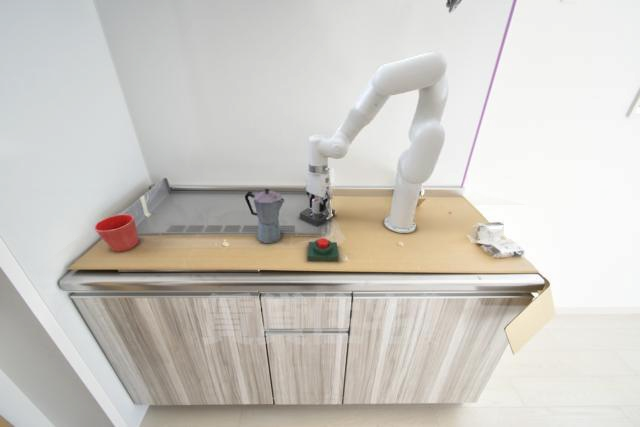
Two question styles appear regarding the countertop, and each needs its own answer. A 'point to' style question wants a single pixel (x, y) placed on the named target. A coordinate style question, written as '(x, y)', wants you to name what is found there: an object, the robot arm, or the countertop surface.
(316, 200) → the stove knob
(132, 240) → the flower pot
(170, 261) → the countertop surface
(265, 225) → the moka pot
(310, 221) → the stove panel
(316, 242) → the button block
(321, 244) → the button
